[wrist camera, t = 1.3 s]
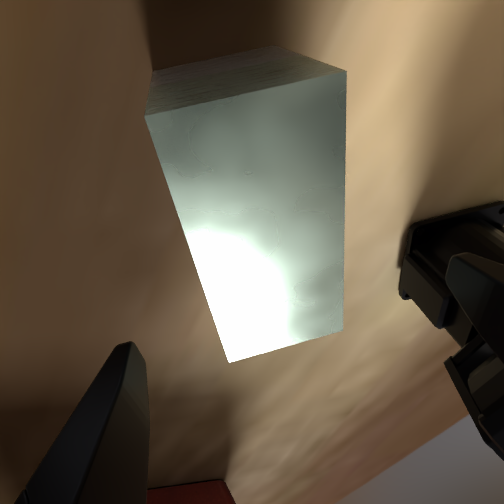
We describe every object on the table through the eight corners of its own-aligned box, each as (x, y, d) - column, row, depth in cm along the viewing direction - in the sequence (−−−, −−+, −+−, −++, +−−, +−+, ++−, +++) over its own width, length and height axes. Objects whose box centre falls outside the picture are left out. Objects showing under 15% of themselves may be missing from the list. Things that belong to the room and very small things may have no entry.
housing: (273, 44, 14) (346, 70, 8) (293, 240, 20) (343, 330, 14) (152, 70, 13) (144, 116, 8) (211, 261, 19) (228, 362, 14)
